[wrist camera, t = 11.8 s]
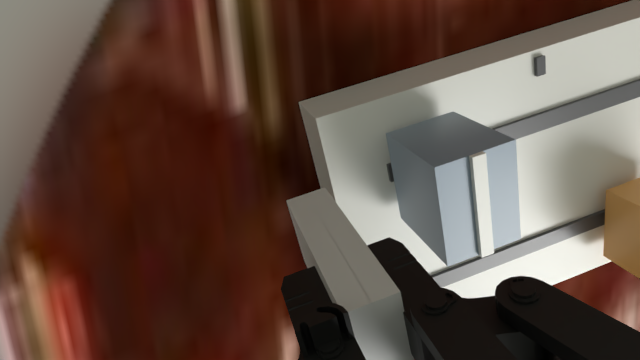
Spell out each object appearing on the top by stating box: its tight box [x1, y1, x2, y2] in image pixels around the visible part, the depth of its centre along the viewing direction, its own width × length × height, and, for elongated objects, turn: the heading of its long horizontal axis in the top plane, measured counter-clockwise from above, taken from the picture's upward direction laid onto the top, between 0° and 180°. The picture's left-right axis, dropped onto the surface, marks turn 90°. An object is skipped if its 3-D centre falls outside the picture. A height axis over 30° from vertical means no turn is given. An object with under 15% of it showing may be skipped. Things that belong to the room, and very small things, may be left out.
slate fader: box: [386, 112, 521, 267], centre depth 18 cm, size 3×4×4 cm
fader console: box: [298, 0, 640, 298], centre depth 24 cm, size 19×13×3 cm
